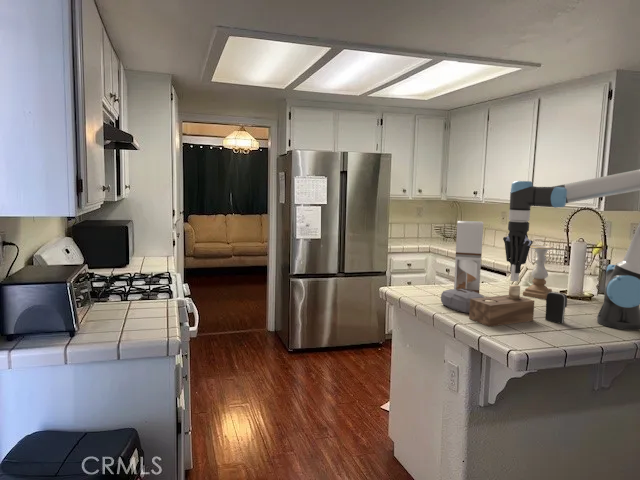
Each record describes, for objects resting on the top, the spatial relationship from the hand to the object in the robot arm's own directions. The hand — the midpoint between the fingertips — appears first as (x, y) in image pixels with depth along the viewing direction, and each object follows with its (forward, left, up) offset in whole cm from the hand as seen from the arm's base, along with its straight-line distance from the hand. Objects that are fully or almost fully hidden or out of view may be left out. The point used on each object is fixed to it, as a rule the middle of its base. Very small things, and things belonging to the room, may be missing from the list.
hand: (514, 280), depth 190 cm
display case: (+38, -9, -15) cm, 42 cm away
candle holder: (+26, -42, -15) cm, 52 cm away
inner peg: (0, 0, -8) cm, 8 cm away
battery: (-9, -13, -15) cm, 22 cm away
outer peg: (0, +12, -14) cm, 18 cm away
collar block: (0, +6, -15) cm, 16 cm away
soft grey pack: (+19, +8, -16) cm, 25 cm away
